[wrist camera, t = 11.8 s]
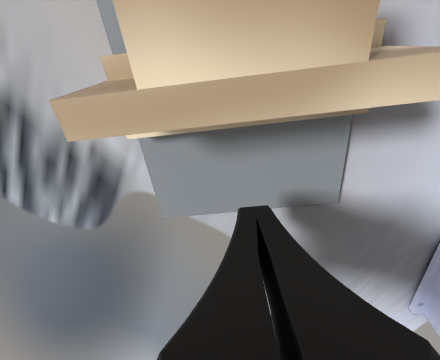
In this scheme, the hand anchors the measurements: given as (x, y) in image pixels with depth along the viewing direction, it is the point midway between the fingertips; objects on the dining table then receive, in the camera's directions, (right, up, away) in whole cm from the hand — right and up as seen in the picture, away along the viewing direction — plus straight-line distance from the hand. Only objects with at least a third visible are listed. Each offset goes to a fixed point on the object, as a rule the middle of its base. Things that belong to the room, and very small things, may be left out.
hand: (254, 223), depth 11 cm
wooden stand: (-1, +8, -1) cm, 8 cm away
